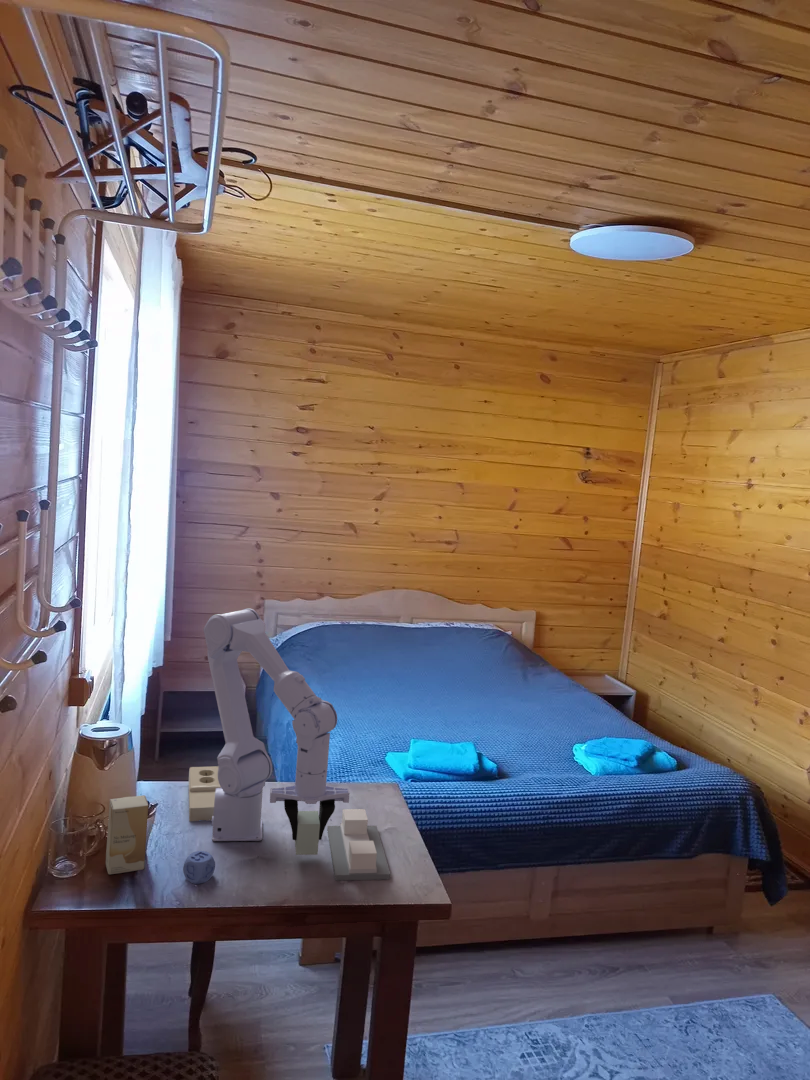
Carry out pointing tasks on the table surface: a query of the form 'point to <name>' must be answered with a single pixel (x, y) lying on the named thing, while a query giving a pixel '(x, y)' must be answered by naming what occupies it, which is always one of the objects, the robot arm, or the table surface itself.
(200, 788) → the electrical outlet
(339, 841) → the rail board
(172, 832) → the table surface
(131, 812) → the skincare box
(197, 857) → the decorative dice
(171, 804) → the table surface
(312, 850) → the block
